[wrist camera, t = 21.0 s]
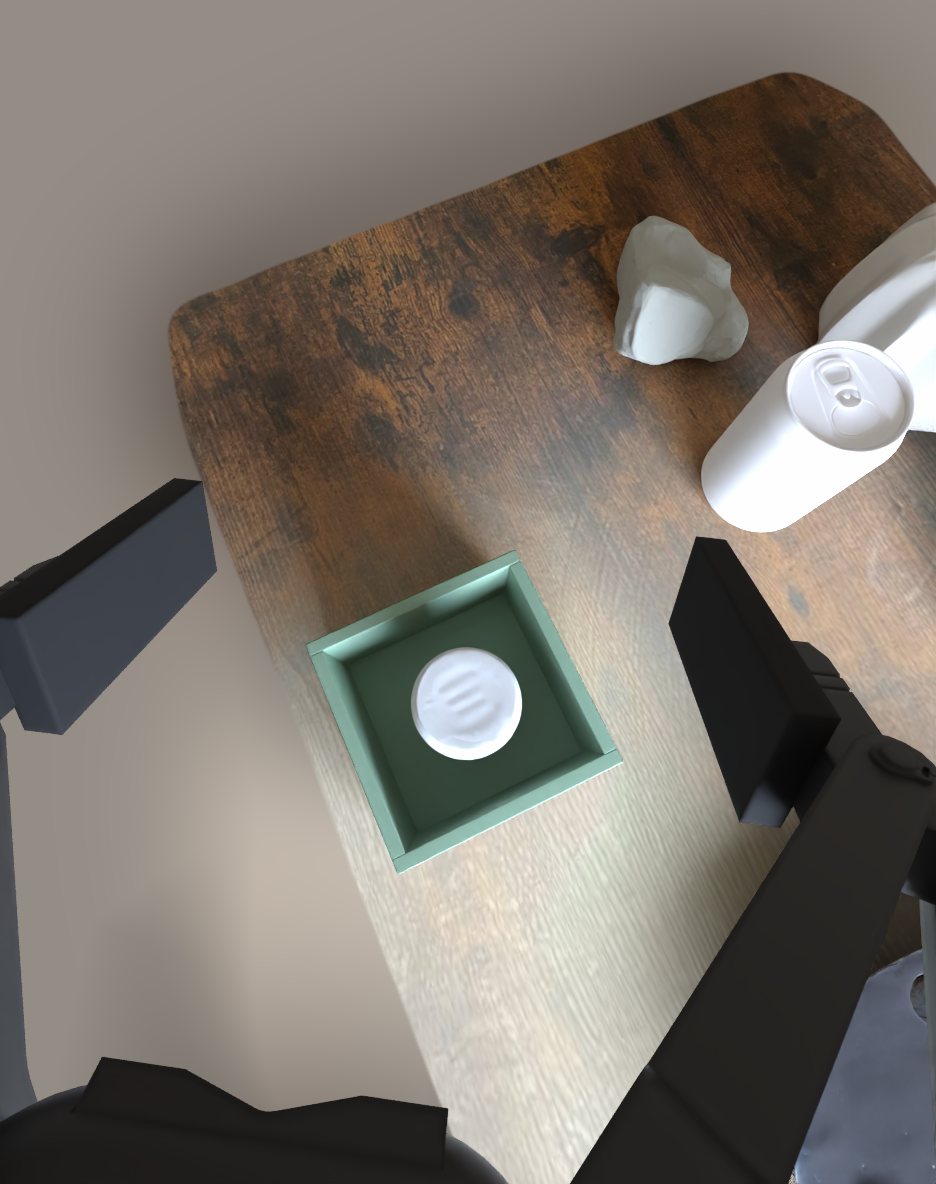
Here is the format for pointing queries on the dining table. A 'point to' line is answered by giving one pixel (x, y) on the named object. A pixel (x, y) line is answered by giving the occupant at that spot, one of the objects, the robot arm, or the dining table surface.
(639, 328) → the decorative stone
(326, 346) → the dining table surface
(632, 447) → the dining table surface
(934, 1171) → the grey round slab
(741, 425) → the beverage can
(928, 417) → the vase
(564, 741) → the bin
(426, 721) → the pill bottle
